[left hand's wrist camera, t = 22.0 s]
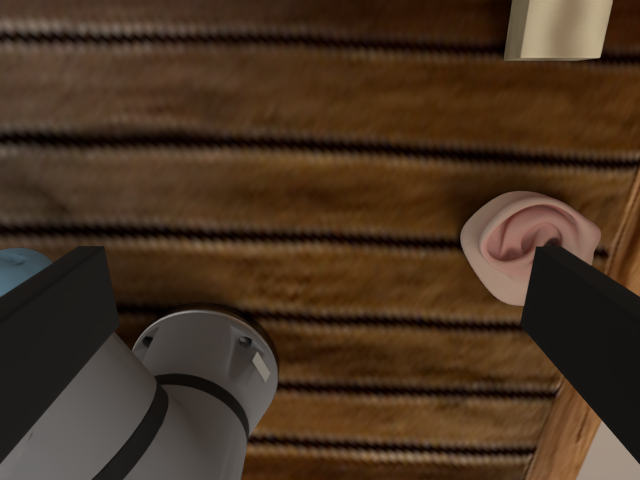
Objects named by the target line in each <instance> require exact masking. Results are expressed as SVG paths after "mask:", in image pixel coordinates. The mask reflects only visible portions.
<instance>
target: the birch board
mask: <svg viewBox="0 0 640 480" xmlns="http://www.w3.org/2000/svg"><path fill="white" fill-rule="evenodd" d="M612 2H613V0H512V6H511V13H510V20H509V26H508V33H507V40H506V47H505V54H504V61H577V60H585V59H593V58H600V56H601V51H602V47H603V42H604V38H605V33H606V29H607V24H608V20H609V15H610V11H611V6H612Z"/></svg>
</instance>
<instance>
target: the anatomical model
mask: <svg viewBox="0 0 640 480" xmlns="http://www.w3.org/2000/svg"><path fill="white" fill-rule="evenodd" d="M600 237H601V232H600V230H599V228H598V227H597V226H596V225H595V224H594V223H593V222H591V221H590V220H588V219H587V218H585V217H584V216H582V215H581V214H580V213H578V212H577V211H576V210H574V209H573V208H572V207H570V206H569V205H567V204H565V203H564V202H562V201H559V200H557V199H554V198H551V197H548V196H546V195H543V194H539V193H535V192H529V191H514V192H509V193H505V194H502V195H500V196H498V197H496V198H494V199H493V200H491V201H490V202H488V203H487V204H486V205H484V206H483V207H482V208H480V209H479V210H478V211H477V212H476V213H475V214H474V215H473V216H472V217H471V218H470V219H469V220H468V221H467V222H466V224H465V225H464V227H463V229H462V231H461V235H460V241H461V246H462V248H463V251H464V253H465V256H466V257H467V259H468V261H469V263H470V265H471V266H472V268H473V270H474V271H475V273H476V274H477V276H478V277H479V279H480V280H481V281H482V283H483V284H484V285H485V287H486V288H487V289H488V290H489V291H490V292H491V293H492V294H493V295H494V296H495V297H496V298H498V299H499V300H501V301H503V302H505V303H507V304H511V305H518V306H524V303H525V298H526V293H527V288H528V284H529V279H530V274H531V269H532V264H533V259H534V254H535V249H536V246H561V247H563V248H565V249H566V250H568V251H569V252H571V253H572V254H574V255H575V256H577V257H579V258H580V259H582V260H583V261H585V262H586V263H588V264H589V265H592V260H593V254H594V250H595V248H596V246H597V245H598V243H599V240H600Z"/></svg>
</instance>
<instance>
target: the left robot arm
mask: <svg viewBox="0 0 640 480" xmlns="http://www.w3.org/2000/svg"><path fill="white" fill-rule="evenodd" d="M119 325H120V323H119V318H118V313H117V308H116V303H115V298H114V293H113V288H112V284H111V279H110V274H109V269H108V264H107V259H106V254H105V249H104V246H79V247H77V248H75V249H74V250H72V251H71V252H69V253H68V254H66V255H65V256H63V257H61V258H60V259H58V260H57V261H55V262H54V263H53V262H52V261H51V260H50V259H49V258H48V257H46V256H45V255H43V254H42V253H40V252H38V251H35V250H32V249H27V248H10V249H4V250H0V480H241V476H242V470H243V465H244V460H245V454H246V448H247V444H248V439H249V436H250V434H251V433H252V431H253V430H254V428H255V427H256V425H257V424H258V422H259V421H260V419H261V418H262V416H263V415H264V413H265V411H266V410H267V408H268V407H269V405H270V404H271V402H272V400H273V398H274V396H275V393H276V389H277V383H278V377H279V359H278V354H277V351H276V348H275V346H274V344H273V342H272V340H271V339H270V337H269V336H268V335H267V333H266V332H265V331H264V330H263V329H262V328H261V327H260V326H259V325H258V324H257V323H256V322H255V321H253V320H252V319H251V318H249V317H248V316H246V315H244V314H242V313H240V312H238V311H236V310H234V309H231V308H228V307H225V306H221V305H216V304H209V303H193V304H186V305H182V306H178V307H175V308H172V309H170V310H168V311H166V312H164V313H162V314H161V315H159V316H158V317H156V318H155V319H154V320H153V321H152V322H151V323H150V324H149V325H148V326H147V327H146V329H145V330H144V332H143V333H142V334H141V336H140V337H139V339H138V340H137V341H136V343H135V345H134V347H133V350H132V351H131V350H130V349H129V348H128V347H127V345H126V344H125V343H124V342H123V341H122V340H121V339H120V337H119V336H118V335H117V334H116V333H115V332H114V331H115V330H116V329H117V327H118V326H119ZM520 325H521V326H522V327H523V329H524V330H525V331H526V332H527V333H528V334H529V336H530V337H531V338H532V339H533V340H534V341H535V343H536V344H537V345H538V346H539V347H540V348H541V350H542V351H543V352H544V353H545V354H546V355H547V357H548V358H549V359H550V360H551V361H552V362H553V364H554V365H555V366H556V367H557V368H558V369H559V371H560V372H561V373H562V374H563V375H564V376H565V378H566V379H567V380H568V381H569V382H570V383H571V385H572V386H573V387H574V388H575V389H576V390H577V392H578V393H579V394H580V395H581V396H582V397H583V399H584V400H585V401H586V402H587V403H588V404H589V406H590V407H591V408H592V409H593V410H594V411H595V413H596V414H597V415H598V416H599V417H600V418H601V420H602V421H603V422H604V423H605V424H606V425H607V427H608V428H609V429H610V430H611V431H612V432H613V434H614V435H615V436H616V437H617V438H618V439H619V441H620V442H621V443H622V444H623V445H624V446H625V448H626V449H627V450H628V451H629V452H630V453H631V455H632V456H633V457H634V458H635V459H636V460H637V462H638V463H639V464H640V297H639V296H638V295H636V294H634V293H633V292H631V291H630V290H628V289H627V288H625V287H624V286H622V285H620V284H619V283H617V282H616V281H614V280H613V279H611V278H610V277H608V276H607V275H605V274H603V273H602V272H600V271H599V270H597V269H596V268H594V267H593V266H591V265H589V264H588V263H586V262H585V261H583V260H582V259H580V258H579V257H577V256H575V255H574V254H572V253H571V252H569V251H568V250H566V249H565V248H563V247H561V246H536V249H535V254H534V259H533V264H532V269H531V274H530V279H529V284H528V288H527V293H526V298H525V303H524V308H523V313H522V318H521V323H520Z"/></svg>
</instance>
